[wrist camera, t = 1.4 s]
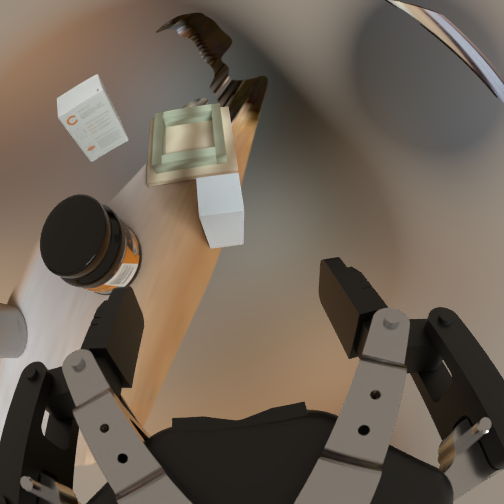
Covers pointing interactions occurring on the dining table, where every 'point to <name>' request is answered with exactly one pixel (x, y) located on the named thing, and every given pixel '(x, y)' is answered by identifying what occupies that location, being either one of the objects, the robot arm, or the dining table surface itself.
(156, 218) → the dining table surface
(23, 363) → the dining table surface
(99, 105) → the small box
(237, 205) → the block
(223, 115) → the cradle jig
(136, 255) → the supplement container
